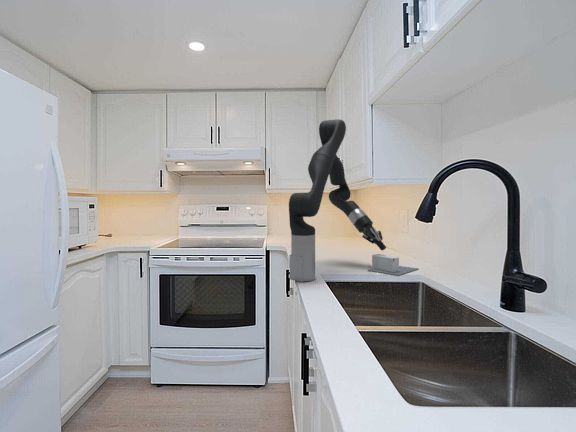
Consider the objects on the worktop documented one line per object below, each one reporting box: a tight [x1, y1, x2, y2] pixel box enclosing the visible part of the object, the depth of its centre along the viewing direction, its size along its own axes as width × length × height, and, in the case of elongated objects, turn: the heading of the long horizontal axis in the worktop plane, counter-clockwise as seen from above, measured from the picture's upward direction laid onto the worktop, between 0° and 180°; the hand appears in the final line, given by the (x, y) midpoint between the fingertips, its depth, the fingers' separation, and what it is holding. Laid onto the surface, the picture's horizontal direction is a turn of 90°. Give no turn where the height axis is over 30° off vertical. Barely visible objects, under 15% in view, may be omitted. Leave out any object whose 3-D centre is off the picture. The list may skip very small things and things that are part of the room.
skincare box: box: [371, 253, 400, 272], centre depth 146 cm, size 6×4×12 cm
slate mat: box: [367, 265, 419, 277], centre depth 147 cm, size 18×14×1 cm
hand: (384, 249), depth 148 cm, fingers closed
